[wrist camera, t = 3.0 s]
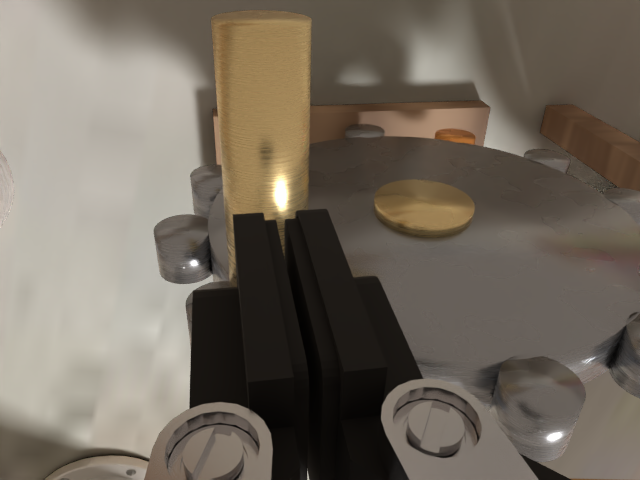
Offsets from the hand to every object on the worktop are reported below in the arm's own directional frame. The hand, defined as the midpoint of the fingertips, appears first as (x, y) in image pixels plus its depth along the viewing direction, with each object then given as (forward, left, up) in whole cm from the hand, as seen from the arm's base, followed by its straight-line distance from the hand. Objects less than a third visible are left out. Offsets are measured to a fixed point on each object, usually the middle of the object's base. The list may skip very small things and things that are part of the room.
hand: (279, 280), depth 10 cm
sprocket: (-6, -6, -24) cm, 26 cm away
